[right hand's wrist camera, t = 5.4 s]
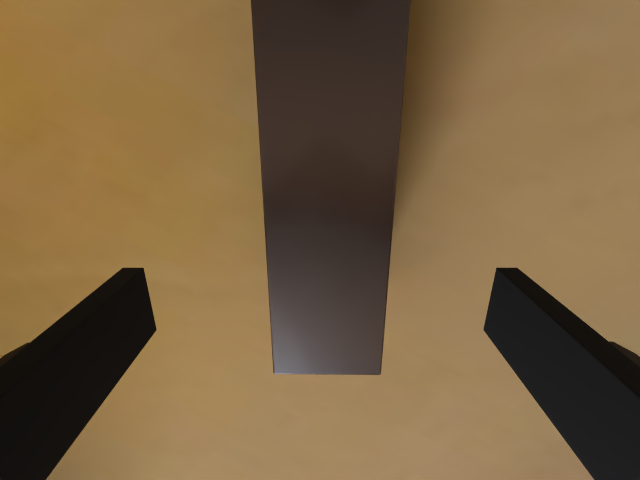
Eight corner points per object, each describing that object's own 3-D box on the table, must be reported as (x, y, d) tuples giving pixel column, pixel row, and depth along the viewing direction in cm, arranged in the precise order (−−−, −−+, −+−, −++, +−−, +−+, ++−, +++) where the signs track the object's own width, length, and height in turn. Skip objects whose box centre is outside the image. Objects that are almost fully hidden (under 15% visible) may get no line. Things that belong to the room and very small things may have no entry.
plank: (262, -439, 12) (177, -1192, 5) (401, -442, 12) (508, -1207, 5) (289, 293, 23) (273, 374, 16) (363, 294, 23) (381, 375, 16)
